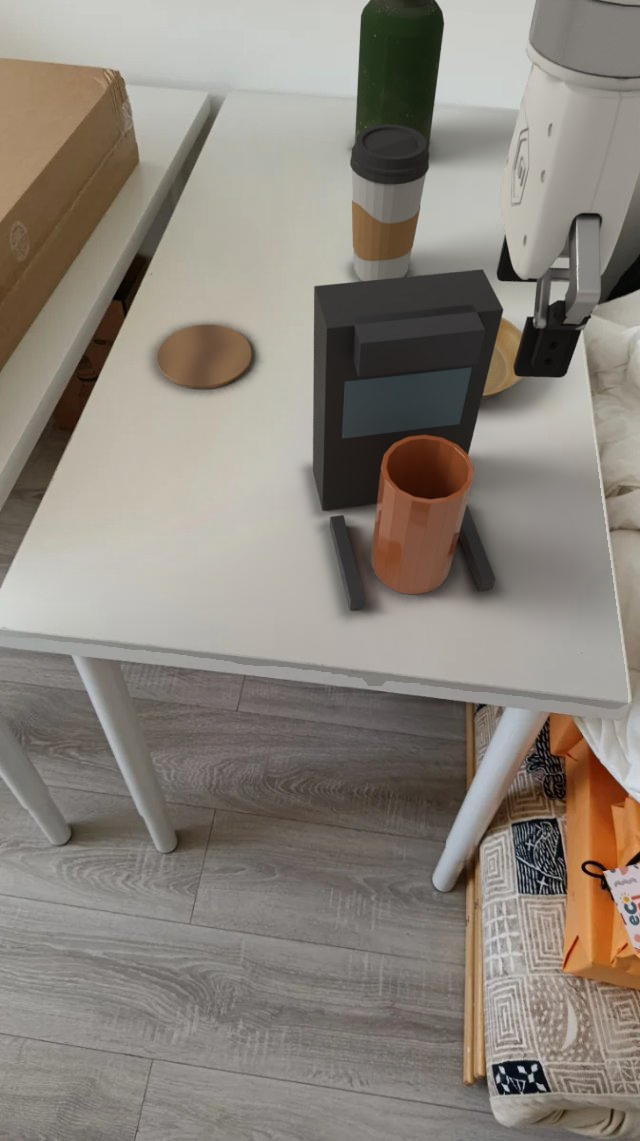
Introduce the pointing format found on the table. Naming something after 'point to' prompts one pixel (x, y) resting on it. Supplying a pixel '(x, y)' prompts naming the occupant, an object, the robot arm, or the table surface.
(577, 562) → the table surface
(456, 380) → the black box with legs
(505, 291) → the table surface
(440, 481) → the orange tube
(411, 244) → the coffee cup
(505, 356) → the plant saucer
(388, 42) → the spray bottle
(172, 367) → the coaster
